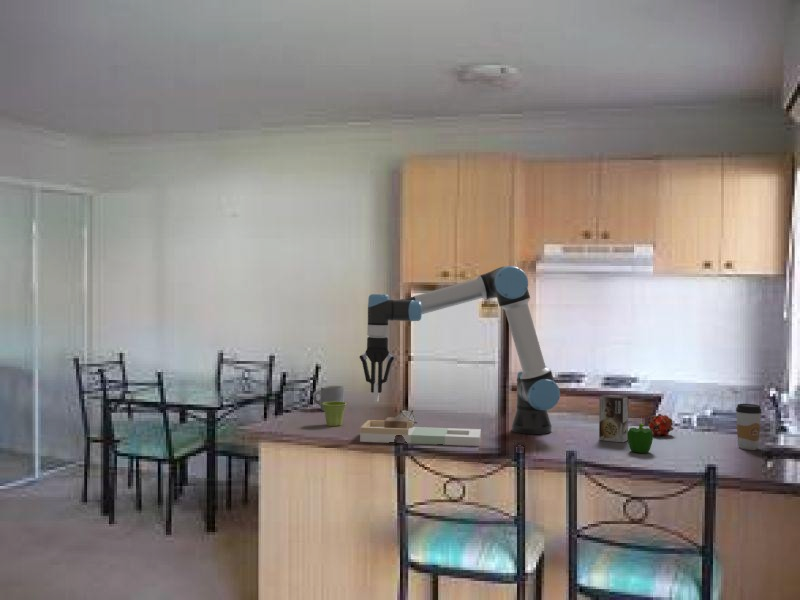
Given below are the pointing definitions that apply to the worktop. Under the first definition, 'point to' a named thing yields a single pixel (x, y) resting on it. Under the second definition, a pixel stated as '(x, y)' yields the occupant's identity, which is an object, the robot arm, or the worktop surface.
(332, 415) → the plant pot
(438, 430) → the deck
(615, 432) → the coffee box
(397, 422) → the walnut block
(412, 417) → the game die
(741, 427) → the coffee cup
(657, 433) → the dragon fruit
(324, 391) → the coffee mug
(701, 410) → the worktop surface
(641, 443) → the bell pepper
